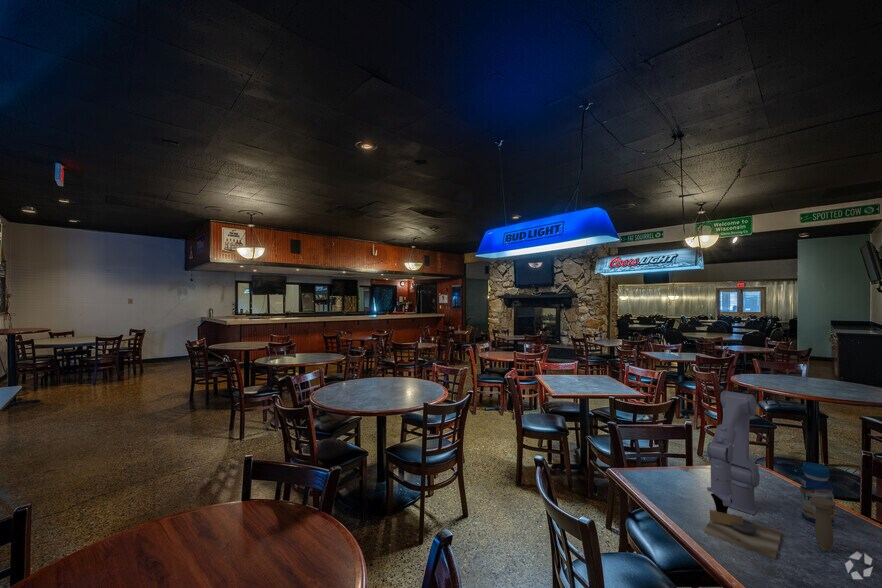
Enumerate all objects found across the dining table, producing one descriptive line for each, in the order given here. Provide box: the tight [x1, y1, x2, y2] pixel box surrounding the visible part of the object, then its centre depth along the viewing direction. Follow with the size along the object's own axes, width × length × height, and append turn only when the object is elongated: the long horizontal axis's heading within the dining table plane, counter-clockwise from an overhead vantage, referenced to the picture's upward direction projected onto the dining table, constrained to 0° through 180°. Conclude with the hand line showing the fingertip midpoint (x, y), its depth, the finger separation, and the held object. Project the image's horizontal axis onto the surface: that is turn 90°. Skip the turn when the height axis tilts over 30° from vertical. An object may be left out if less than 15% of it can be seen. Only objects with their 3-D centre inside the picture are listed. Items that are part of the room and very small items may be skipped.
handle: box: [811, 497, 836, 553], centre depth 116 cm, size 5×6×15 cm
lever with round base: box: [709, 509, 756, 533], centre depth 126 cm, size 12×7×3 cm, turn 59°
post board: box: [704, 512, 783, 561], centre depth 124 cm, size 18×18×2 cm
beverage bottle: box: [799, 461, 835, 529], centre depth 131 cm, size 8×8×20 cm
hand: (721, 517), depth 128 cm, fingers closed, pressing on lever with round base
